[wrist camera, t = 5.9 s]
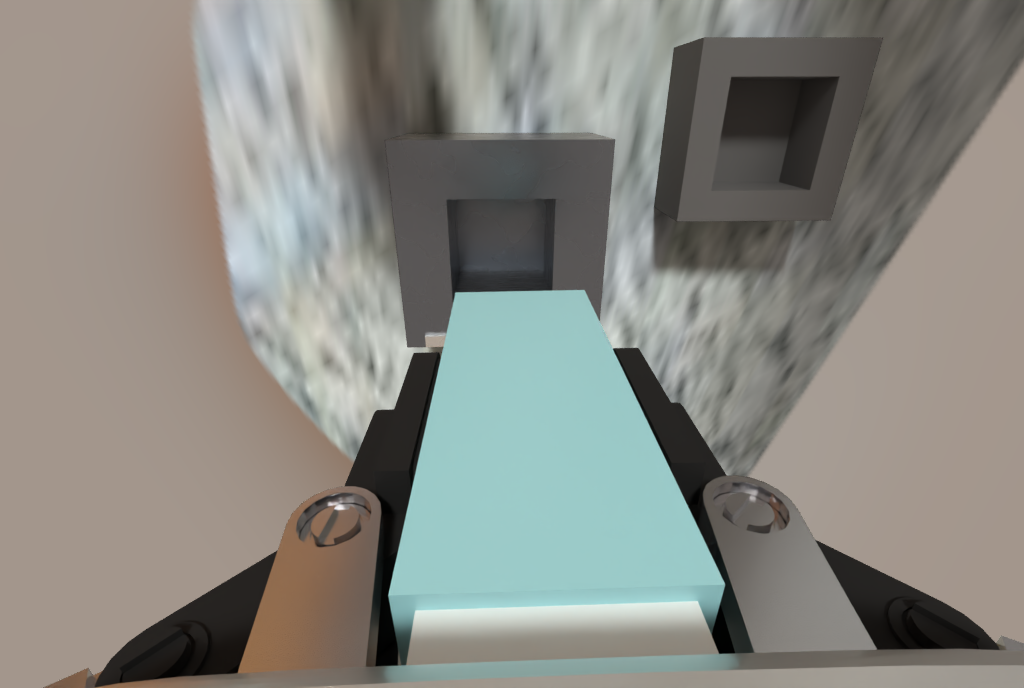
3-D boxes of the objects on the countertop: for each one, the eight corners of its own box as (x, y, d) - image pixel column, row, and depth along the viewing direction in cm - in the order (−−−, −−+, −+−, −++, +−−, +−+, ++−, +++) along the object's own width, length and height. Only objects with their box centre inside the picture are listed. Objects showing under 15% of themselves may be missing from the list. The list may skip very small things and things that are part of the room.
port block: (408, 133, 26) (383, 140, 21) (591, 132, 26) (615, 139, 21) (423, 305, 31) (406, 349, 25) (580, 303, 31) (598, 346, 25)
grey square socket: (674, 47, 25) (704, 37, 21) (827, 47, 25) (883, 37, 21) (654, 207, 28) (677, 221, 25) (788, 206, 28) (830, 220, 25)
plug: (455, 292, 13) (364, 703, 4) (584, 289, 13) (775, 689, 4) (463, 401, 15) (408, 873, 6) (578, 398, 15) (706, 861, 6)
